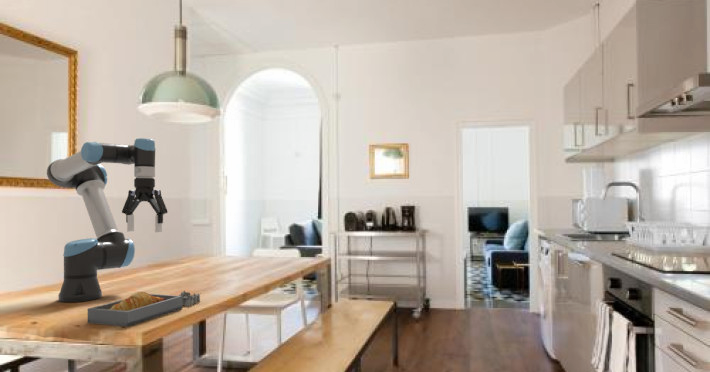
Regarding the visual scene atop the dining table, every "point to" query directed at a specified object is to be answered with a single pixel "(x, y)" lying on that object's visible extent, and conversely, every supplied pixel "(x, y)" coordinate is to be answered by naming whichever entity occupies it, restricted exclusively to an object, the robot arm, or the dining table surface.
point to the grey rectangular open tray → (133, 312)
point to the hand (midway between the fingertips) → (144, 231)
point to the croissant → (136, 301)
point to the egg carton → (189, 298)
